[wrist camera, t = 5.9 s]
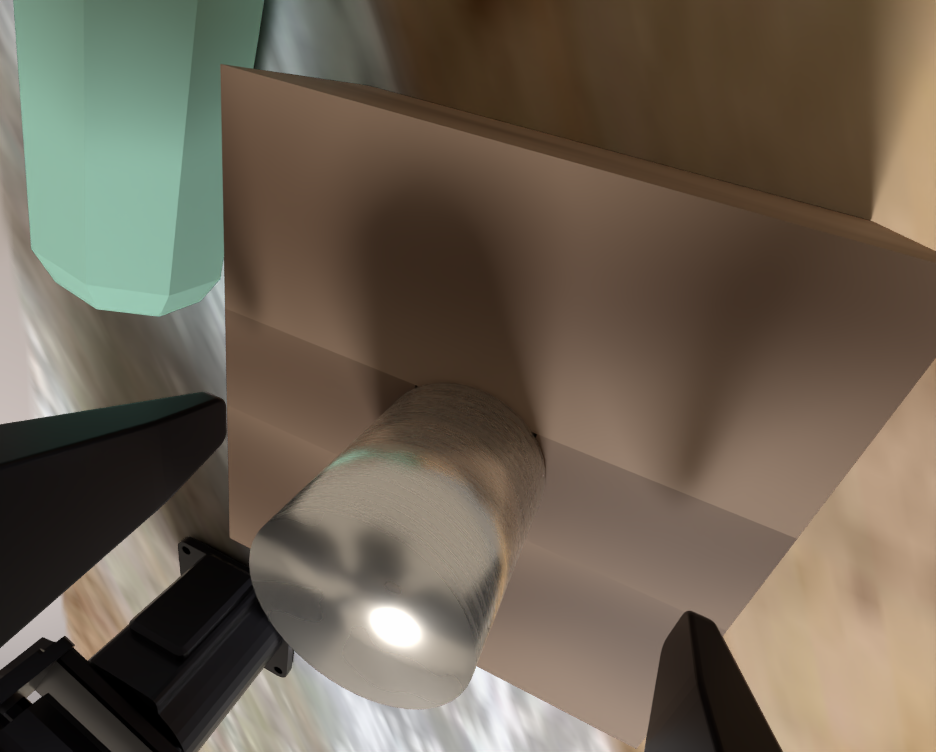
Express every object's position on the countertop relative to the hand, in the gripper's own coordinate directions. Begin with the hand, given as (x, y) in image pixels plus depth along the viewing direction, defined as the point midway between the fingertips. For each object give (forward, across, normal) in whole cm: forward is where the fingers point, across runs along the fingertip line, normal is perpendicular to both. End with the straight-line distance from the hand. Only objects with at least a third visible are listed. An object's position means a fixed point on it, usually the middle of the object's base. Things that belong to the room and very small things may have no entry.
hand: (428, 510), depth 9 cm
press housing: (+7, 0, 0) cm, 7 cm away
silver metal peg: (+6, 0, 0) cm, 6 cm away
